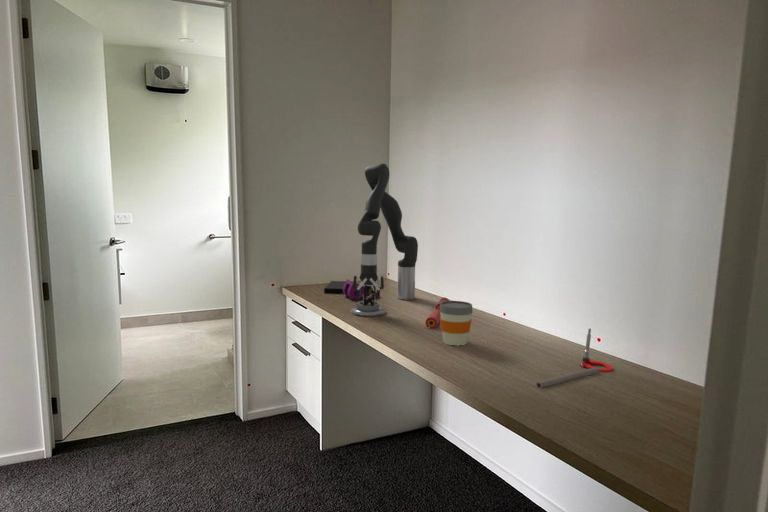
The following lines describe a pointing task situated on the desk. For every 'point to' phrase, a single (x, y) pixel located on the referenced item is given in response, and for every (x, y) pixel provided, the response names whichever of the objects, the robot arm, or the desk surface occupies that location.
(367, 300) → the beverage can
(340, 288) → the external hard drive
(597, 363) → the tow hook
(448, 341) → the reusable coffee cup
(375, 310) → the rosette socket
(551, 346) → the desk surface
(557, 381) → the metal rod
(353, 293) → the mounting bracket
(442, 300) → the blood vessel
